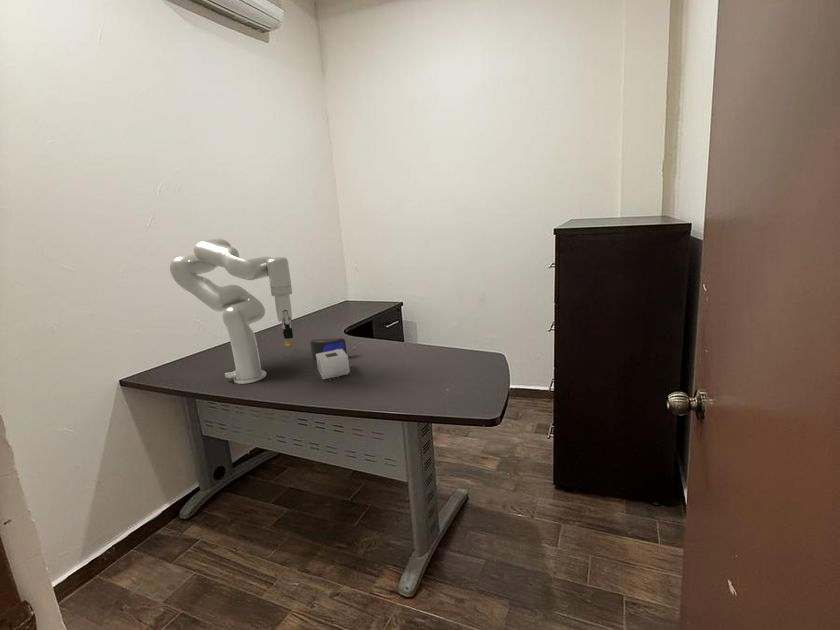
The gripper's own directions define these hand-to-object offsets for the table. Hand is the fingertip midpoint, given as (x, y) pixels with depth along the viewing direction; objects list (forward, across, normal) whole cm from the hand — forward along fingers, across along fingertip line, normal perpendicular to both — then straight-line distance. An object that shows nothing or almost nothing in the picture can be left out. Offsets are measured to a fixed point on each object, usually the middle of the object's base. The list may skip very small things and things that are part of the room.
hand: (288, 336), depth 160 cm
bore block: (+18, 0, +16) cm, 24 cm away
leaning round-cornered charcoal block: (+19, -20, +18) cm, 32 cm away
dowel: (+4, 0, 0) cm, 4 cm away
